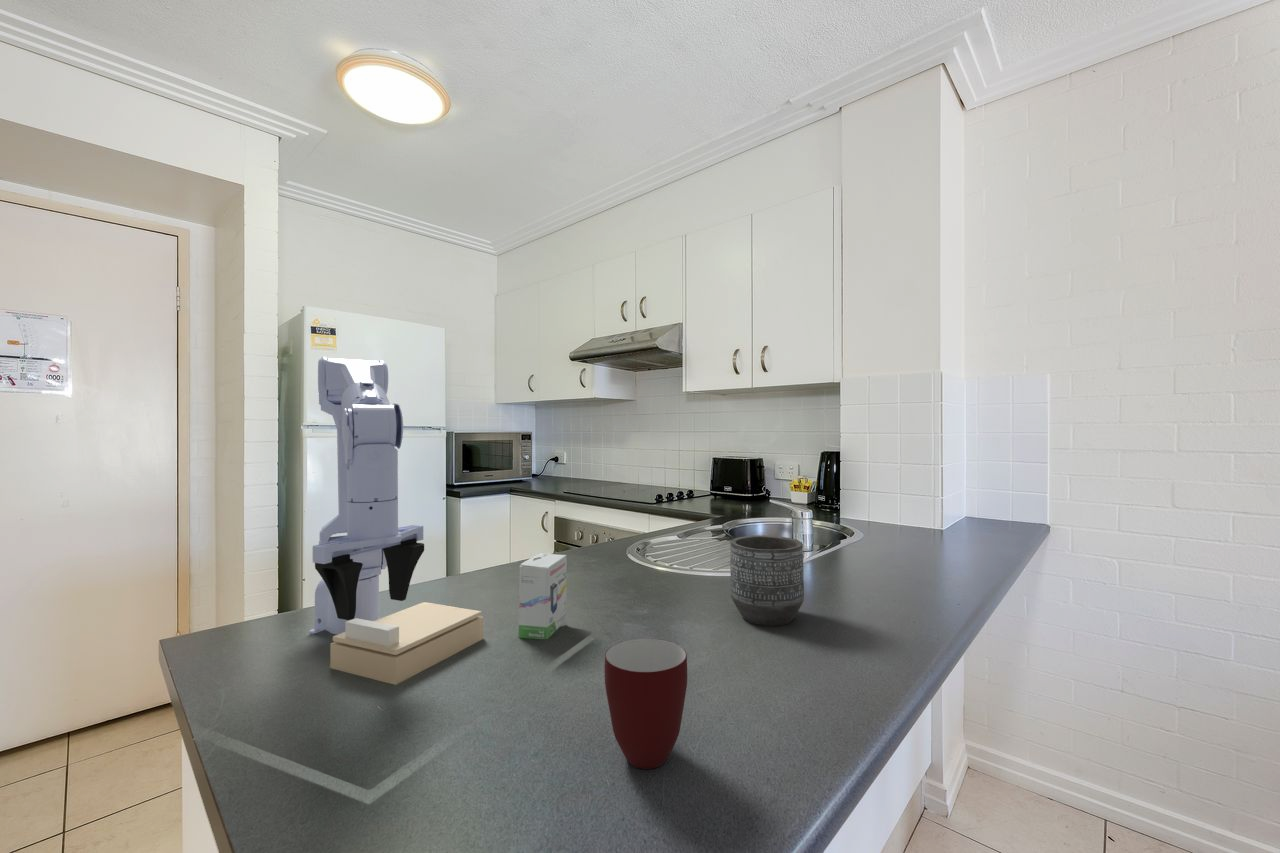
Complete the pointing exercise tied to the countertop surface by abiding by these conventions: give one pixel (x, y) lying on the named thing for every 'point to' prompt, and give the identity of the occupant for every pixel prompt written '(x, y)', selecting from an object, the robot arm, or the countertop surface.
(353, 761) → the countertop surface
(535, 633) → the ink box
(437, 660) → the tray
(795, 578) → the planter
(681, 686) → the mug
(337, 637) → the mailer lid
